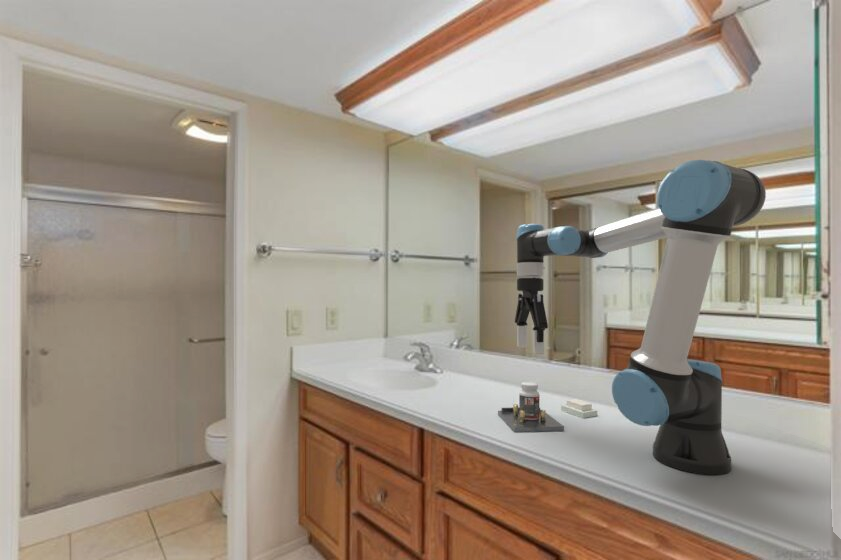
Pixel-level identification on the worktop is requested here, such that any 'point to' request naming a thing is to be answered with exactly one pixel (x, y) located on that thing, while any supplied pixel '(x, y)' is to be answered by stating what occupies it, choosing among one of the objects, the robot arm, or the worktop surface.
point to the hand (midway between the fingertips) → (529, 350)
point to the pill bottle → (529, 400)
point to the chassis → (528, 421)
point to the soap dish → (579, 413)
